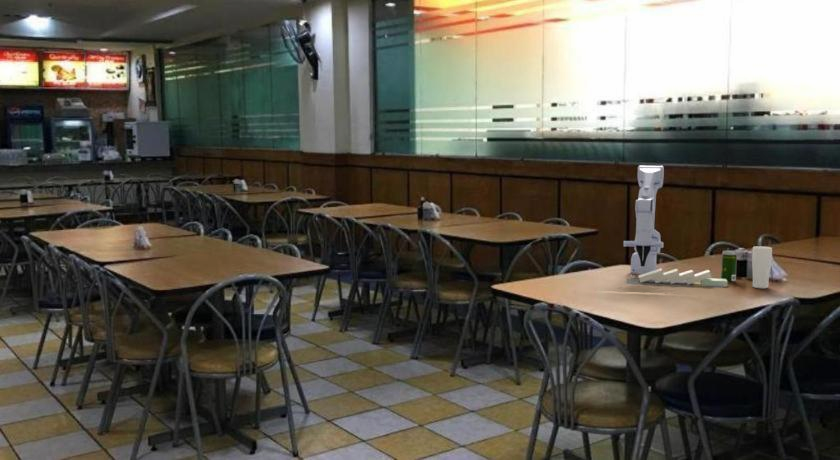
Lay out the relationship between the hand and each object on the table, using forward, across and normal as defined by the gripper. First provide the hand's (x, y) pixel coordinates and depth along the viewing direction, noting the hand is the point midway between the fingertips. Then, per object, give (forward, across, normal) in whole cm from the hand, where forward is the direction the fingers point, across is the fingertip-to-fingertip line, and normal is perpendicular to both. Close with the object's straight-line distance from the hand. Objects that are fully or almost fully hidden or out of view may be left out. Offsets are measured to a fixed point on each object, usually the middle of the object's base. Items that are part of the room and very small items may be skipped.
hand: (642, 265), depth 309 cm
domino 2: (+5, +5, 0) cm, 7 cm away
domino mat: (+7, +11, 0) cm, 13 cm away
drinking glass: (+7, +42, +3) cm, 43 cm away
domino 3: (+5, +10, 0) cm, 11 cm away
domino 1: (+5, -1, 0) cm, 5 cm away
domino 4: (+5, +16, 0) cm, 17 cm away
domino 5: (+5, +21, 0) cm, 22 cm away
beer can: (+7, +32, +11) cm, 35 cm away
